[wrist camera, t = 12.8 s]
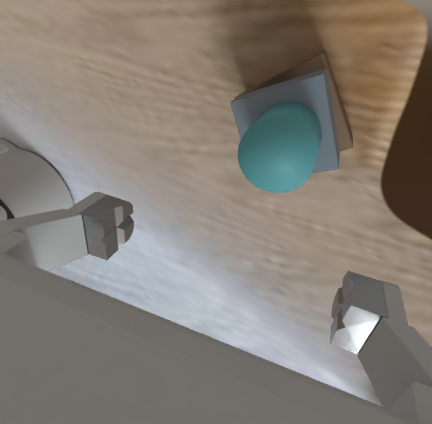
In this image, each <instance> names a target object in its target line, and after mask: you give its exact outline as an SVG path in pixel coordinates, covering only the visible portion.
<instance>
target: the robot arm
mask: <svg viewBox="0 0 432 424" xmlns="http://www.w3.org/2000/svg"><path fill="white" fill-rule="evenodd" d="M132 213H133V205H132V204H131V203H130V202H128V201H125V200H122V199H119V198H116V197H113V196H110V195H107V194H104V193H100V192H94V193H93V194H91V195H89V196H88V197H86V198H85V199H83V200H81V201H80V202H78V203H77V204H75V205H73V201H72V198H71V195H70V192H69V190H68V188H67V186H66V185H65V183H64V181H63V180H62V178H61V177H60V176H59V174H58V173H57V172H56V171H55V170H54V169H53V168H52V167H51V166H50V165H49V164H48V163H47V162H46V161H44V160H43V159H42V158H40V157H39V156H37V155H35V154H33V153H31V152H28V151H25V150H21V149H18V148H16V147H15V146H13V145H12V144H11V143H9V142H8V141H6V140H4V139H0V424H432V348H431V346H430V345H429V344H428V343H427V342H426V341H425V340H424V339H423V337H422V336H421V335H420V334H419V333H418V332H417V331H416V330H415V329H414V327H411V326H408V323H407V318H406V314H405V309H404V305H403V300H402V296H401V291H400V288H399V286H398V285H395V284H392V283H388V282H385V281H379V280H376V279H373V278H370V277H366V276H363V275H360V274H357V273H353V272H350V271H347V273H346V274H345V276H344V278H343V287H341V288H339V289H338V291H337V293H336V295H335V298H334V301H333V305H332V315H331V316H332V317H333V319H334V321H333V323H332V325H331V336H330V344H333V345H335V346H338V347H340V348H343V349H345V350H348V351H350V352H353V353H355V354H358V358H359V359H360V361H361V363H362V365H363V367H364V369H365V371H366V373H367V375H368V377H369V378H370V380H371V382H372V384H373V386H374V388H375V390H376V392H377V394H378V395H379V397H380V399H381V401H382V403H383V405H384V407H385V408H384V407H382V406H379V405H377V404H374V403H372V402H369V401H367V400H364V399H362V398H359V397H357V396H354V395H352V394H349V393H347V392H345V391H342V390H340V389H337V388H335V387H332V386H330V385H327V384H325V383H322V382H320V381H317V380H315V379H313V378H310V377H308V376H305V375H303V374H300V373H298V372H295V371H293V370H290V369H288V368H285V367H283V366H280V365H278V364H276V363H273V362H271V361H268V360H266V359H263V358H261V357H258V356H256V355H253V354H251V353H248V352H246V351H243V350H241V349H239V348H236V347H234V346H231V345H229V344H226V343H224V342H221V341H219V340H216V339H214V338H211V337H209V336H207V335H204V334H202V333H199V332H197V331H194V330H192V329H189V328H187V327H184V326H182V325H179V324H177V323H175V322H172V321H170V320H167V319H165V318H162V317H160V316H157V315H155V314H152V313H150V312H147V311H145V310H143V309H140V308H138V307H135V306H133V305H130V304H128V303H125V302H123V301H120V300H118V299H115V298H113V297H110V296H108V295H105V294H103V293H100V292H98V291H96V290H93V289H91V288H88V287H86V286H83V285H81V284H78V283H76V282H73V281H71V280H68V279H66V278H63V277H61V276H59V275H56V274H54V273H51V272H49V271H50V270H52V269H55V268H57V267H60V266H62V265H64V264H67V263H69V262H72V261H74V260H77V259H79V258H81V257H84V256H86V255H88V254H90V255H93V256H96V257H99V258H102V259H105V260H108V259H109V258H110V257H111V256H112V255H113V254H114V253H115V252H116V251H117V250H118V245H121V244H124V243H126V242H127V241H128V240H129V239H130V237H131V235H132V233H133V228H134V221H133V220H132V218H131V216H130V215H131V214H132Z"/></svg>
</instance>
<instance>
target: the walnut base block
mask: <svg viewBox="0 0 432 424" xmlns="http://www.w3.org/2000/svg"><path fill="white" fill-rule="evenodd" d="M325 68H327V75H328V81H329V87H330V94H331V100H332V107H333V113H334V119H335V126H336V132H337V139H338V145H339V151H343V150H346V149H349V148H352V147H353V137H352V132H351V129H350V126H349V123H348V120H347V116H346V113H345V110H344V107H343V104H342V101H341V98H340V94H339V91H338V88H337V85H336V82H335V79H334V76H333V72H332V69H331V66H330V63H329V60H328V57H327V53H326V51H324V52H322V53H320V54H318V55H316V56H314V57H312V58H310V59H308V60H306V61H305V62H303V63H301V64H299V65H297V66H295V67H293V68H291V69H289V70H287V71H285V72H283V73H281V74H279V75H277V76H275V77H273V78H271V79H269V80H267V81H265V82H263V83H261V84H259V85H257V86H255V87H253V88H251V89H249V90H247V91H245V92H243V93H242V94H240V95H238V96H237V97H235V99H237V98H238V97H240V96H242V95H243V94H245V93H249V92H252V91H255V90H258V89H261V88H265V87H268V86H271V85H274V84H277V83H281V82H284V81H287V80H290V79H293V78H297V77H300V76H303V75H306V74H309V73H313V72H316V71H319V70H322V69H325Z"/></svg>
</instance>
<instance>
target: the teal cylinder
mask: <svg viewBox="0 0 432 424" xmlns="http://www.w3.org/2000/svg"><path fill="white" fill-rule="evenodd" d="M321 137H322V130H321V125H320V122H319V120H318V118H317V116H316V115H315V114H314V112H313V111H312V110H311V109H309V108H308V107H306V106H304V105H302V104H299V103H295V102H284V103H280V104H277V105H275V106H273V107H271V108H270V109H268V110H267V111H266V112H265V113H264V114H263V115H262V116H261V117H260V118H259V119H258V120H257V121H256V122H255V123H254V124H253V125H252V126H251V127H250V128H249V129H248V130H247V131H246V132H245V133H244V135H243V137H242V139H241V141H240V144H239V147H238V161H239V165H240V168H241V170H242V172H243V174H244V175H245V177H246V178H247V179H248V180H249V181H250V182H251V183H252V184H253V185H255V186H256V187H258V188H260V189H262V190H265V191H268V192H274V193H281V192H288V191H291V190H294V189H296V188H298V187H299V186H301V185H302V184H303V183H304V182H305V181H306V180H307V179H308V178H309V177H310V175H311V173H312V171H313V169H314V166H315V162H316V158H317V154H318V150H319V146H320V142H321Z"/></svg>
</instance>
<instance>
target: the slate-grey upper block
mask: <svg viewBox="0 0 432 424" xmlns="http://www.w3.org/2000/svg"><path fill="white" fill-rule="evenodd" d="M284 102H295V103H299V104H302V105H304V106H306V107H308V108H309V109H311V110H312V111H313V112H314V114H315V115H316V116H317V118H318V120H319V122H320V125H321V130H322V137H321V142H320V146H319V150H318V154H317V158H316V162H315V166H314V169H313V171H312V173H317V172H323V171H329V170H335V169H339V154H340V151H339V145H338V139H337V132H336V126H335V119H334V113H333V107H332V100H331V94H330V87H329V81H328V75H327V68H325V69H322V70H319V71H316V72H313V73H309V74H306V75H303V76H300V77H297V78H293V79H290V80H287V81H284V82H281V83H277V84H274V85H271V86H268V87H265V88H261V89H258V90H255V91H252V92H249V93H245V94H243V95H242V96H240V97H238V98H237V99H235V100H233V101H232V102H230V103H231V106H232V110H233V113H234V117H235V120H236V124H237V127H238V131H239V134H240V138H241V139H242V137H243V135H244V133H245V132H246V131H247V130H248V129H249V128H250V127H251V126H252V125H253V124H254V123H255V122H256V121H257V120H258V119H259V118H260V117H261V116H262V115H263V114H264V113H265V112H266V111H267V110H268V109H270V108H271V107H273V106H275V105H277V104H280V103H284Z"/></svg>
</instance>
